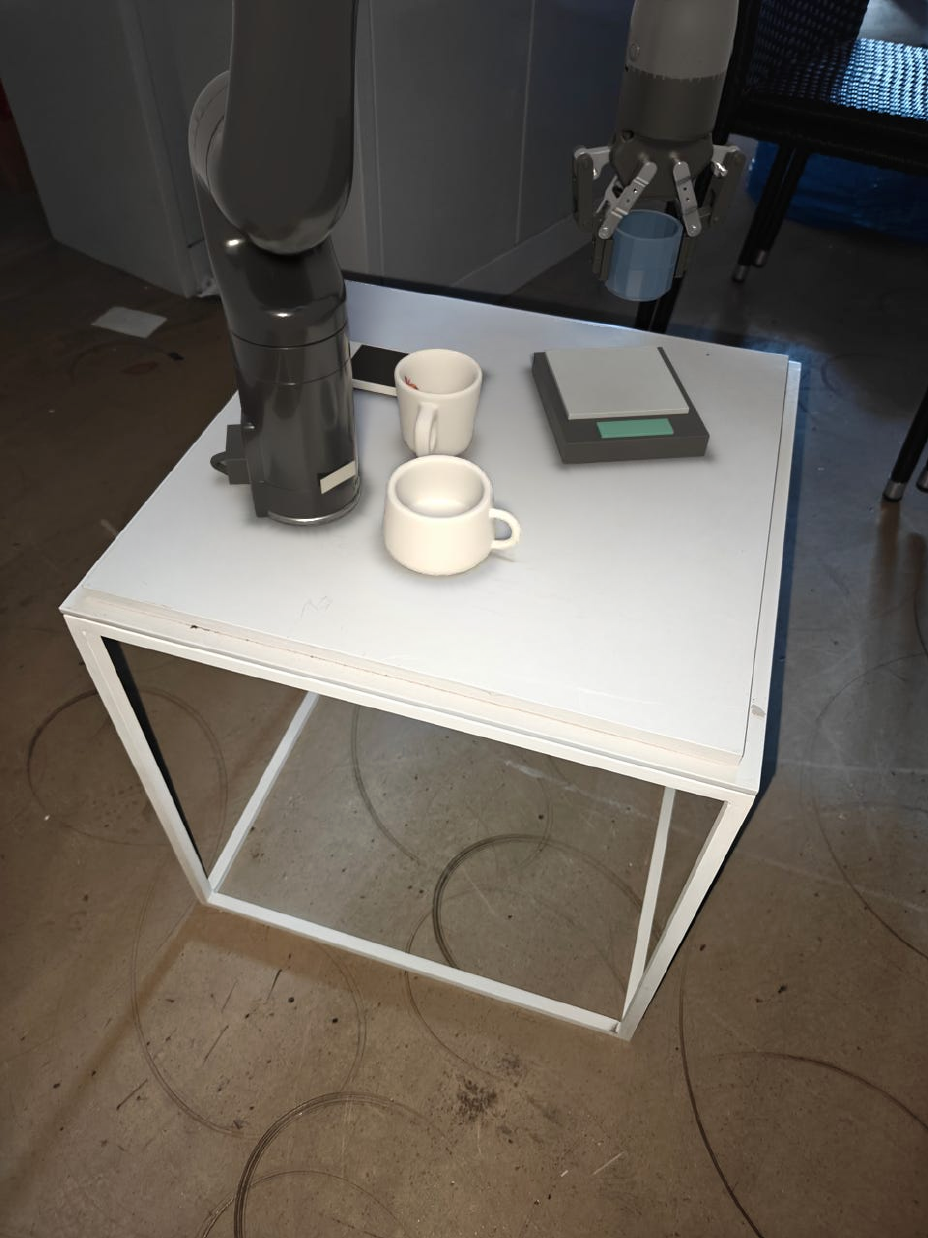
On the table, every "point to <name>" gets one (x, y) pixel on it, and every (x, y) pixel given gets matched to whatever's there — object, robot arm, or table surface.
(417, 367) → the cup
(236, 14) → the robot arm
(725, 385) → the table surface
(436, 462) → the mug
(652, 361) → the scale
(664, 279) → the dark blue tumbler
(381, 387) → the smartphone
